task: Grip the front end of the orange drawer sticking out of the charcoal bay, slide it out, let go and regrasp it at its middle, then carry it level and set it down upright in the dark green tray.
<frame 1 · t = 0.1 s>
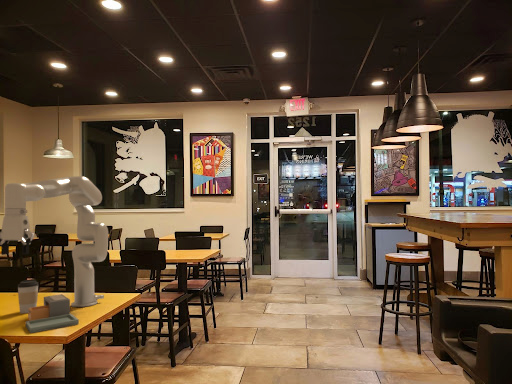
hand: (15, 254, 161), 31 cm above the table, tool pointing down, fingers open, 9 cm apart
tray: (52, 325, 166), on the table
coffee cup: (28, 311, 192), on the table
orange drawer: (44, 318, 179), on the table
bay housing: (56, 315, 182), on the table
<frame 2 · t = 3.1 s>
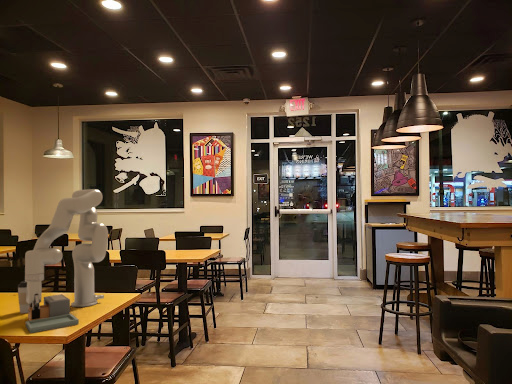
hand: (34, 316, 177), 1 cm above the table, tool pointing down, fingers closed on orange drawer, 7 cm apart
orange drawer: (44, 317, 179), on the table, touching gripper
everything else where it was.
when the fingers open (1 cm above the table, at t = 5.6 s): orange drawer stays where it is, on the table.
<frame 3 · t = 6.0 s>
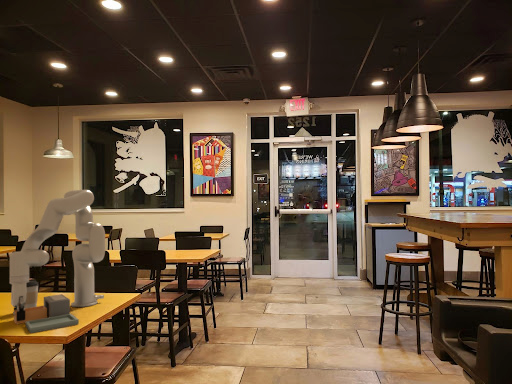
hand: (19, 318, 173), 1 cm above the table, tool pointing down, fingers open, 9 cm apart
orange drawer: (30, 320, 176), on the table
everything else where it was.
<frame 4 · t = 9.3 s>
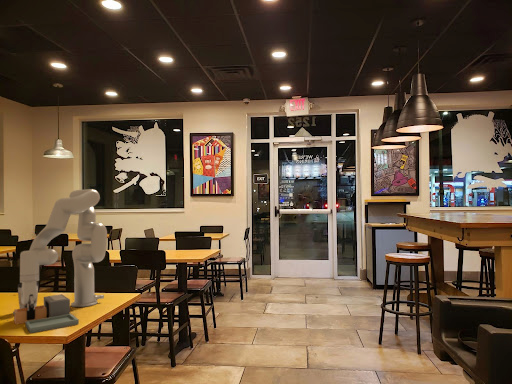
hand: (29, 317, 176), 1 cm above the table, tool pointing down, fingers closed on orange drawer, 7 cm apart
orange drawer: (30, 319, 176), on the table, touching gripper
everything else where it was.
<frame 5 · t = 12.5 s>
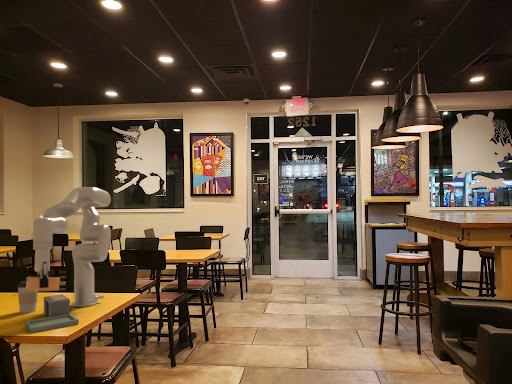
hand: (42, 286, 170), 16 cm above the table, tool pointing down, fingers closed on orange drawer, 7 cm apart
orange drawer: (42, 289, 170), point 15 cm above the table, tilted 8°, touching gripper
everything else where it was.
when the fingers open (4 cm above the table, at t = 15.8 s): orange drawer drops 1 cm, resting on tray.
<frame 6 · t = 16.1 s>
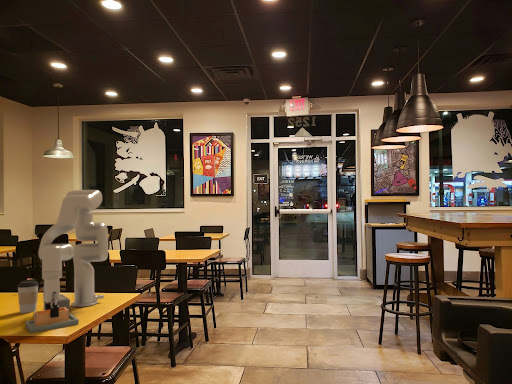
hand: (52, 315, 166), 4 cm above the table, tool pointing down, fingers open, 9 cm apart
orange drawer: (51, 322, 166), point 1 cm above the table, touching tray
everything else where it was.
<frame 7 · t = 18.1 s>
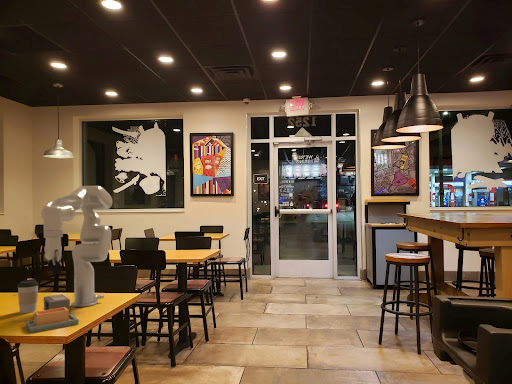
hand: (54, 272, 174), 22 cm above the table, tool pointing down, fingers open, 9 cm apart
nothing on the table moved.
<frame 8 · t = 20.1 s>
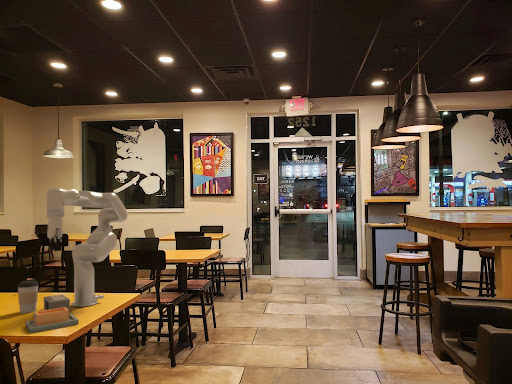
hand: (55, 250, 186), 30 cm above the table, tool pointing down, fingers open, 9 cm apart
nothing on the table moved.
at the end: orange drawer 0.3 cm off-centre on the tray, point 1.0 cm above the tray's base; orange drawer tilted 0°; the gripper is holding nothing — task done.
